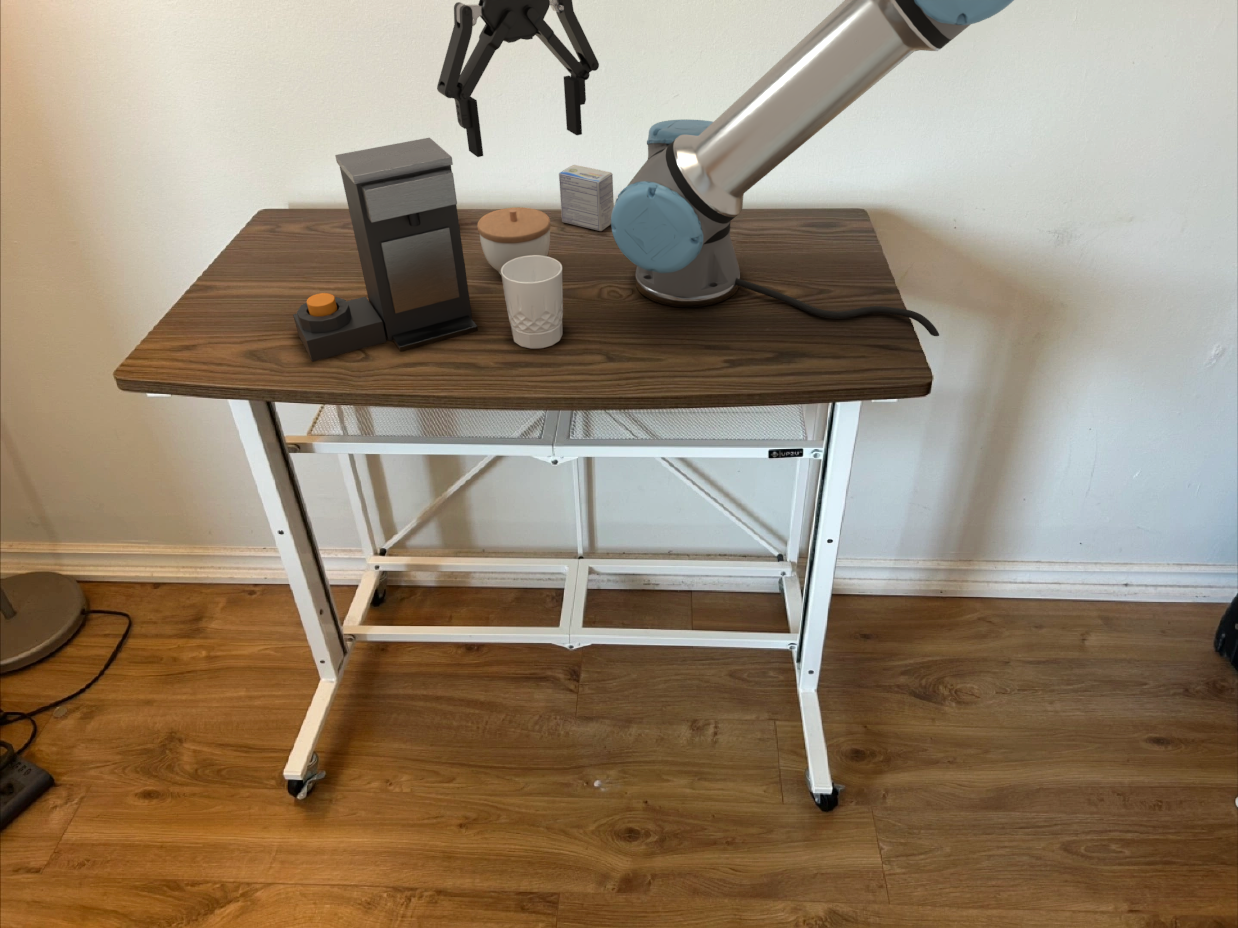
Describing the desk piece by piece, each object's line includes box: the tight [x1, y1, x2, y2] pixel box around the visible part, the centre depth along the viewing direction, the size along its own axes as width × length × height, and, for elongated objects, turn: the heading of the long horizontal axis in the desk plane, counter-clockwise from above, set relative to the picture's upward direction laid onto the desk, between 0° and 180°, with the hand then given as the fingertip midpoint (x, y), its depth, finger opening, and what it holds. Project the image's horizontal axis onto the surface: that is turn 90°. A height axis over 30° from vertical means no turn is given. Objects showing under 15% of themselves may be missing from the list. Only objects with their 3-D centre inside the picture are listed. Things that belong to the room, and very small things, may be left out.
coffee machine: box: [334, 137, 479, 353], centre depth 117 cm, size 12×12×23 cm
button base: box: [292, 296, 388, 362], centre depth 119 cm, size 10×8×5 cm
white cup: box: [500, 255, 564, 349], centre depth 117 cm, size 8×8×10 cm
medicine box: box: [558, 164, 615, 232], centre depth 146 cm, size 8×4×9 cm, turn 58°
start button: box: [306, 292, 337, 316], centre depth 117 cm, size 4×4×2 cm
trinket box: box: [477, 206, 551, 275], centre depth 133 cm, size 11×11×9 cm
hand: (526, 142), depth 111 cm, fingers open, 13 cm apart
